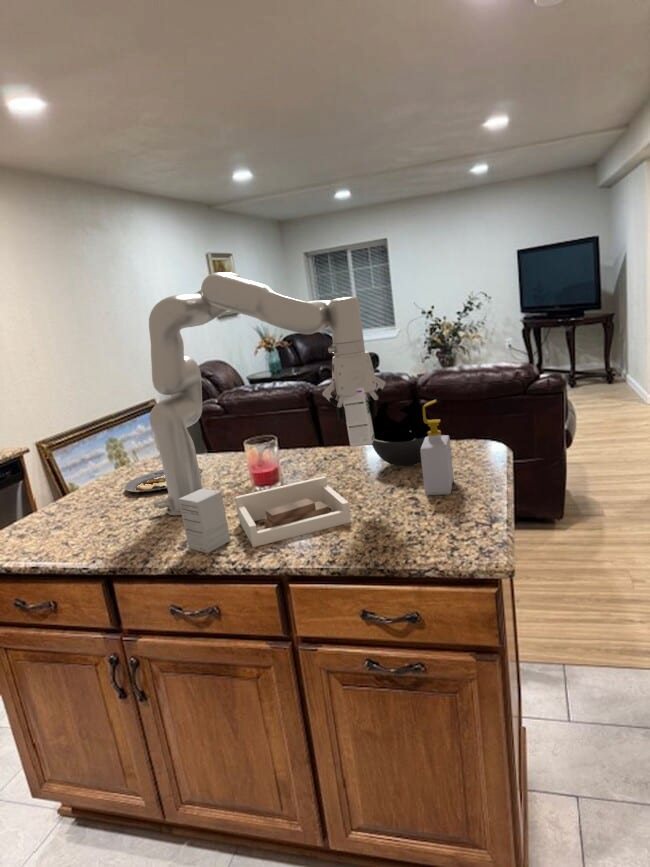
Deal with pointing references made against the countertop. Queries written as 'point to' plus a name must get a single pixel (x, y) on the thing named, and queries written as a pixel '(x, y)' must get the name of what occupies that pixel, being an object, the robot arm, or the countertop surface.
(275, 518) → the offcut pile
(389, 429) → the coal bowl
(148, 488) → the food plate
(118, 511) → the countertop surface
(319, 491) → the tray
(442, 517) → the countertop surface
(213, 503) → the supplement box
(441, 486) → the soap bottle
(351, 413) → the syrup box
